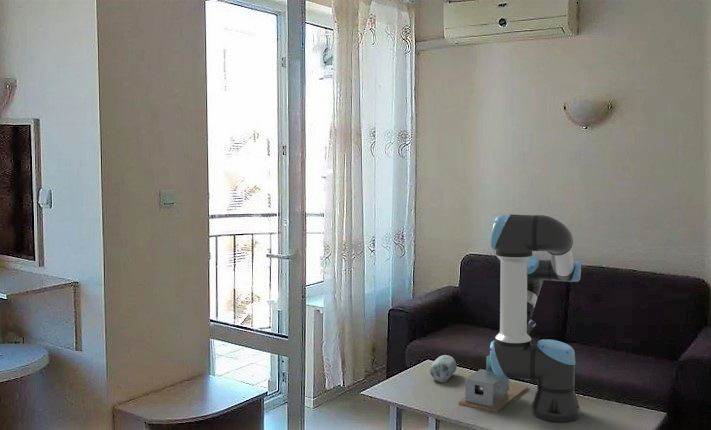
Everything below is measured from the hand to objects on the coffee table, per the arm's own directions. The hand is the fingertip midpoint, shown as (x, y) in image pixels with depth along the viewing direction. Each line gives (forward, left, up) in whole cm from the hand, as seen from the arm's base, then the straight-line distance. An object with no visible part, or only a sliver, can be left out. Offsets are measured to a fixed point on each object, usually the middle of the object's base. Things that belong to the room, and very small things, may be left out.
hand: (506, 359), depth 252 cm
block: (-7, +12, -8) cm, 17 cm away
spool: (+19, +15, -11) cm, 26 cm away
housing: (-5, +9, -10) cm, 15 cm away
